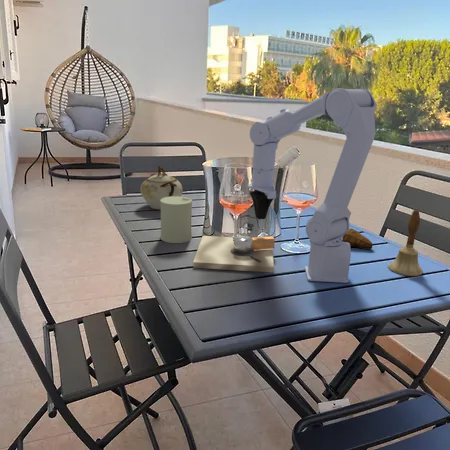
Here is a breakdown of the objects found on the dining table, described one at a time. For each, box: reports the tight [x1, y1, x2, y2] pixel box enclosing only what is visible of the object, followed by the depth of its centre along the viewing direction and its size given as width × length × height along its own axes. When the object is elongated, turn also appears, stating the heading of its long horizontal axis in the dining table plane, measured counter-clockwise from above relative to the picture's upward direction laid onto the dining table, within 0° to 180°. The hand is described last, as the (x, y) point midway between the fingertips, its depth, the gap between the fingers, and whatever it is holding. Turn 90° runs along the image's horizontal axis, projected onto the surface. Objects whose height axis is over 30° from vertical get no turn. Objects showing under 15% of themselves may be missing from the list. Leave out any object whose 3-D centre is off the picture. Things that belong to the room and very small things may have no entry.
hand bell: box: [388, 209, 423, 277], centre depth 114 cm, size 8×8×16 cm
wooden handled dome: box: [233, 235, 276, 254], centre depth 120 cm, size 11×5×3 cm, turn 106°
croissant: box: [342, 227, 374, 250], centre depth 132 cm, size 14×7×5 cm, turn 49°
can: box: [160, 195, 193, 244], centre depth 131 cm, size 9×9×12 cm
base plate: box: [192, 235, 275, 273], centre depth 122 cm, size 20×20×2 cm
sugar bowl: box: [140, 165, 183, 211], centre depth 162 cm, size 20×15×15 cm
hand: (260, 218), depth 123 cm, fingers closed
